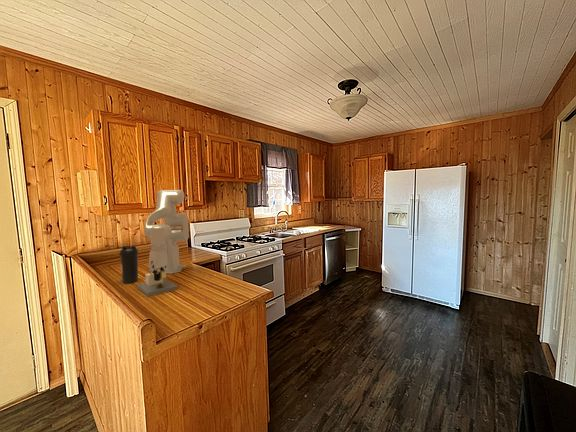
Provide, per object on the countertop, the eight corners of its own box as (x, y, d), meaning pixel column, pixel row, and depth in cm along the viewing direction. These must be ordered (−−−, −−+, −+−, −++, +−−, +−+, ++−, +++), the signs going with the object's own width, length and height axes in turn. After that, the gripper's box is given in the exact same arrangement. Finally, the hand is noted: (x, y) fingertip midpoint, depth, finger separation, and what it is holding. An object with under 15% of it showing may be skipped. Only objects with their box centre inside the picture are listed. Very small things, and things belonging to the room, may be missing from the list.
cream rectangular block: (159, 280, 159) (159, 271, 159) (163, 282, 155) (162, 273, 155) (145, 283, 154) (145, 273, 153) (148, 286, 149) (148, 275, 149)
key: (152, 283, 153) (152, 268, 153) (166, 287, 146) (165, 271, 145) (148, 284, 151) (148, 269, 151) (162, 288, 144) (161, 272, 143)
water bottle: (123, 280, 168) (121, 245, 166) (140, 278, 171) (139, 244, 170) (119, 285, 158) (117, 248, 157) (137, 282, 162) (136, 246, 160)
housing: (165, 281, 164) (165, 278, 163) (177, 289, 149) (177, 285, 149) (137, 287, 152) (137, 284, 152) (147, 296, 138) (147, 292, 138)
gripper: (163, 245, 155) (164, 275, 156) (141, 250, 139) (142, 283, 140) (173, 245, 153) (174, 275, 154) (153, 250, 137) (154, 284, 138)
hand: (159, 279), depth 147 cm, fingers closed on key, 3 cm apart
